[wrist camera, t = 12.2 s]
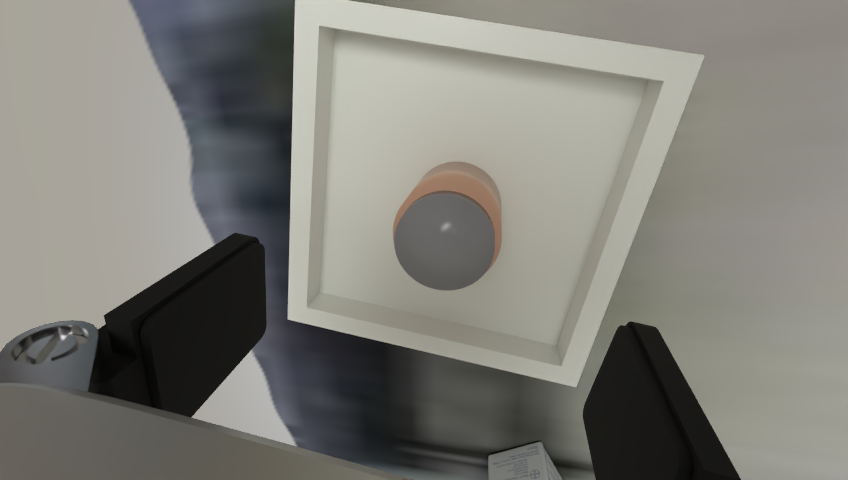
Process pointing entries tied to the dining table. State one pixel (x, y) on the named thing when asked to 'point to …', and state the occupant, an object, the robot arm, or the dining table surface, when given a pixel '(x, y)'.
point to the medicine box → (522, 464)
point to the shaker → (449, 227)
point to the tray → (485, 148)
